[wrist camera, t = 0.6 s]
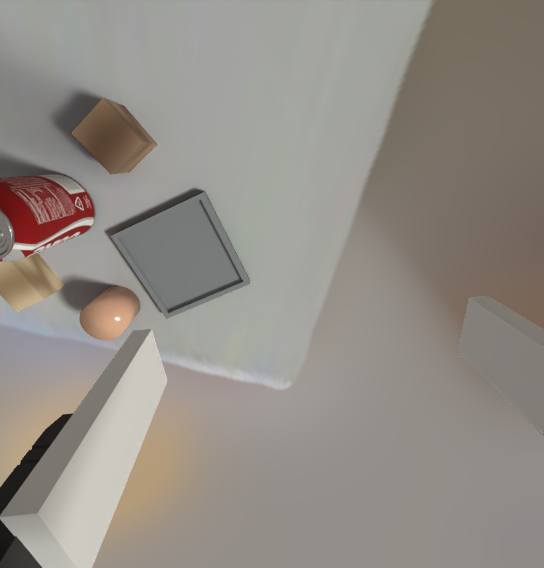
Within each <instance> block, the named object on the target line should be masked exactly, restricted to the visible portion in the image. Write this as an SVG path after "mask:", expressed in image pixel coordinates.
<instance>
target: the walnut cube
mask: <svg viewBox="0 0 544 568" xmlns="http://www.w3.org/2000/svg"><path fill="white" fill-rule="evenodd" d="M71 134H72V135H73V136H74V137H75V138H76V139H77V140H78V141H79V142H80V143H81V144H82V145H83V146H84V147H85V148H86V149H87V150H88V151H89V152H90V153H91V154H92V155H93V156H94V157H95V158H96V159H97V160H98V162H99V163H100V164H101V165H102V166H103V167H104V168H105V169H106V170H107V171H108V172H109V173H110V174H116V173H126V172H130V171H131V170H132V169H133V168H134V167H135V166H136V165H137V164H138V163H139V162H140V161H141V160H142V159H143V158H144V157H145V156H146V155H147V154H148V153H149V152H150V151H151V150H152V149H153V148H154V147H155V146H156V145H157V143H156V142H155V141H154V140H153V139H152V137H151V136H150V135H149V134H148V133H147V132H146V131H145V129H144V128H143V127H142V126H141V125H140V124H139V122H138V121H137V120H136V119H135V118H134V117H133V116H132V114H131V113H130V112H129V111H128V110H127V109H126V107H125V106H123V105H120V104H118V103H115V102H113V101H110V100H108V99H105V98H102V99H101V100H100V102H99V103H98V104H97V105H96V106H95V107H94V108H93V109H92V110H91V112H90V113H89V114H88V115H87V116H86V117H85V118H84V119H83V120H82V121H81V123H80V124H79V125H78V126H77V127H76V128H75V129H74V130H73V131H72V133H71Z"/></svg>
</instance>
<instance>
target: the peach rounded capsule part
mask: <svg viewBox="0 0 544 568" xmlns="http://www.w3.org/2000/svg"><path fill="white" fill-rule="evenodd" d="M139 310H140V302H139V299H138V297H137V296H136V294H135V293H134V292H132V291H131V290H130V289H128V288H125V287H122V286H112V287H109V288H107V289H106V290H105V291H104V292H102V293H101V294H100V295H99V296H98V297H97V298H95V299H94V300H93V301H92V302H91V303H90V304H88V305H87V306H86V307H85V308H84V309H83V310H82V311H81V313H80V324H81V326H82V328H83V329H84V330H85V331H86V332H87V333H88V334H89V335H90V336H92V337H94V338H96V339H100V340H113V339H115V338H117V337H119V336H120V335H121V334H122V332H123V331H124V330H125V329H126V327H127V326H128V325H129V324H130V322H131V321H132V320H133V318H134V317H135V316H136V315H137V313H138V312H139Z"/></svg>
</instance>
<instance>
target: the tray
mask: <svg viewBox="0 0 544 568" xmlns="http://www.w3.org/2000/svg"><path fill="white" fill-rule="evenodd" d="M111 238H112V239H113V241H114V242H115V244H116V245H117V247H118V248H119V250H120V251H121V253H122V254H123V256H124V257H125V258H126V260H127V261H128V263H129V264H130V266H131V267H132V269H133V270H134V272H135V273H136V275H137V276H138V278H139V279H140V281H141V282H142V283H143V285H144V286H145V288H146V289H147V291H148V292H149V294H150V295H151V297H152V298H153V300H154V301H155V303H156V304H157V306H158V307H159V308H160V310H161V311H162V313H163V314H164V316H165V317H166V319H167V318H169V317H172V316H174V315H176V314H179V313H181V312H184V311H186V310H188V309H191V308H193V307H196V306H198V305H200V304H203V303H205V302H208V301H210V300H212V299H215V298H217V297H220V296H222V295H224V294H227V293H229V292H232V291H234V290H236V289H239V288H241V287H244V286H246V285H248V284H250V279H249V277H248V275H247V273H246V271H245V269H244V267H243V265H242V263H241V261H240V260H239V258H238V256H237V254H236V252H235V250H234V248H233V246H232V244H231V242H230V240H229V238H228V236H227V234H226V232H225V230H224V228H223V226H222V224H221V222H220V220H219V218H218V216H217V214H216V212H215V210H214V208H213V206H212V204H211V202H210V200H209V198H208V196H207V194H206V192H203V193H201V194H198V195H196V196H194V197H192V198H190V199H188V200H186V201H184V202H181V203H179V204H177V205H175V206H173V207H171V208H169V209H167V210H164V211H162V212H160V213H158V214H156V215H154V216H152V217H150V218H147V219H145V220H143V221H141V222H139V223H137V224H135V225H133V226H130V227H128V228H126V229H124V230H122V231H120V232H118V233H116V234H114V235H112V236H111Z"/></svg>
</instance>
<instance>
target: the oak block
mask: <svg viewBox="0 0 544 568" xmlns="http://www.w3.org/2000/svg"><path fill="white" fill-rule="evenodd" d="M62 287H64V284H63V283H62V282H61V281H60V280H59V278H58V277H57V276H56V275H55V273H54V272H53V271H52V270H51V269H50V267H49V266H48V265H47V264H46V262H45V261H44V260H43V259H42V258H41V256H40V255H39V254H38V253H36V254H33V255H31V256H28V257H26V258H24V259H21V260H18V261H14V262H0V295H1V296H2V297H3V298H4V299H5V300H6V301H7V302H8V304H9V305H10V306H11V307H12V308H13V309H14V310H15V311H16V312H18V311H20V310H22V309H24V308H26V307H28V306H30V305H33V304H35V303H37V302H39V301H41V300H43V299H45V298H47V297H48V296H50V295H51V294H53V293H54V292H56V291H57V290H59V289H61V288H62Z"/></svg>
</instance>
